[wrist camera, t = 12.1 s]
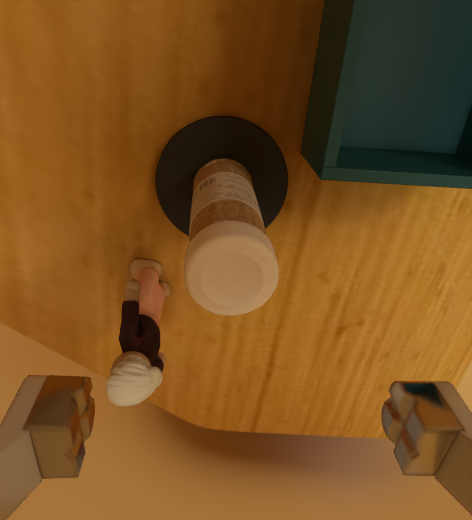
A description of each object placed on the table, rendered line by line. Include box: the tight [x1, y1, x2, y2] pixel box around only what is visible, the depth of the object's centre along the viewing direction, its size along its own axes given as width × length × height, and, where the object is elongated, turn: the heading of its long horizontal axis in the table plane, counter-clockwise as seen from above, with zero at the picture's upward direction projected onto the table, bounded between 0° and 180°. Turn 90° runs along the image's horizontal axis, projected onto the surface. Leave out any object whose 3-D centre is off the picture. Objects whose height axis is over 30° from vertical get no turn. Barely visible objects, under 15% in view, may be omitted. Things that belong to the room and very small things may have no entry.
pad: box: [156, 116, 288, 236], centre depth 31 cm, size 10×10×1 cm
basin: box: [301, 0, 472, 189], centre depth 24 cm, size 16×13×6 cm
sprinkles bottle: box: [184, 159, 279, 316], centre depth 25 cm, size 5×5×14 cm
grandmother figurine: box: [107, 259, 171, 406], centre depth 30 cm, size 8×4×13 cm, turn 22°
